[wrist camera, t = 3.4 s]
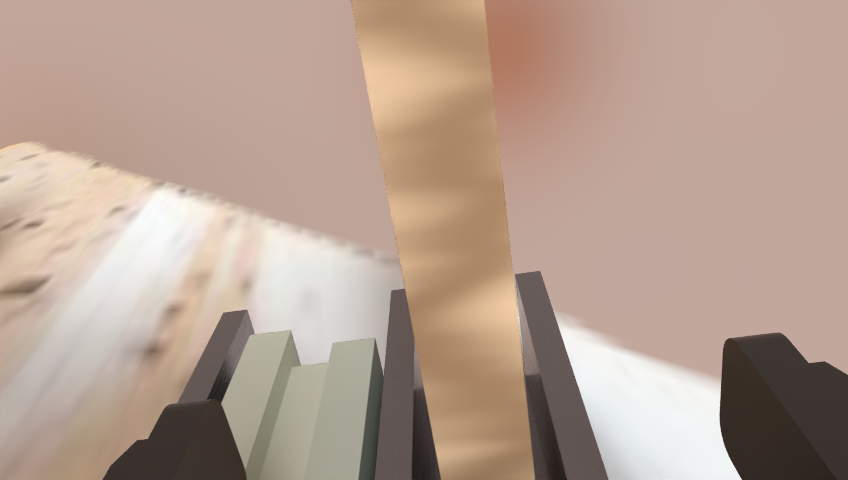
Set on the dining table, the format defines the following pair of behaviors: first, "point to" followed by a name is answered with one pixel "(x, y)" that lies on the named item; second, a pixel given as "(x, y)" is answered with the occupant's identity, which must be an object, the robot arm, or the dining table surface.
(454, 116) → the oak block
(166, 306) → the dining table surface
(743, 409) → the robot arm
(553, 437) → the sheet rack
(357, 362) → the pale green grooved block
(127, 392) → the dining table surface
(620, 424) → the dining table surface
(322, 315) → the dining table surface
